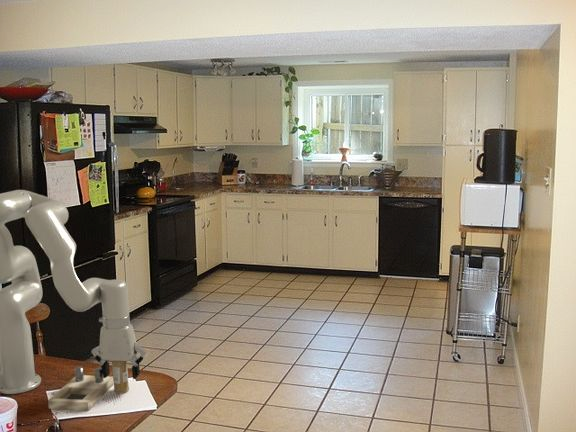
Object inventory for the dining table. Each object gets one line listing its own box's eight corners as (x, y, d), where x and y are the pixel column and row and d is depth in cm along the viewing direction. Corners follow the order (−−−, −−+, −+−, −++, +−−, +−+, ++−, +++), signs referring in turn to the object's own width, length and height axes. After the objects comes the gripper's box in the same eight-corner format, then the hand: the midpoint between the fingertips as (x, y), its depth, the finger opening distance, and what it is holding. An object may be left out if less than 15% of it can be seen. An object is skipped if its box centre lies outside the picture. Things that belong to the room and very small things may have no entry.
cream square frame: (48, 408, 176) (46, 387, 175) (77, 382, 193) (75, 362, 192) (88, 410, 175) (86, 389, 174) (113, 384, 191) (112, 364, 190)
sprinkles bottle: (131, 391, 186) (128, 349, 184) (116, 395, 184) (113, 352, 181) (126, 386, 190) (123, 344, 188) (111, 390, 187) (108, 347, 185)
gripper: (83, 325, 181) (88, 381, 184) (139, 326, 178) (144, 383, 181) (94, 317, 188) (99, 370, 191) (149, 318, 185) (153, 372, 188)
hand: (121, 376), depth 186 cm, fingers open, 8 cm apart
